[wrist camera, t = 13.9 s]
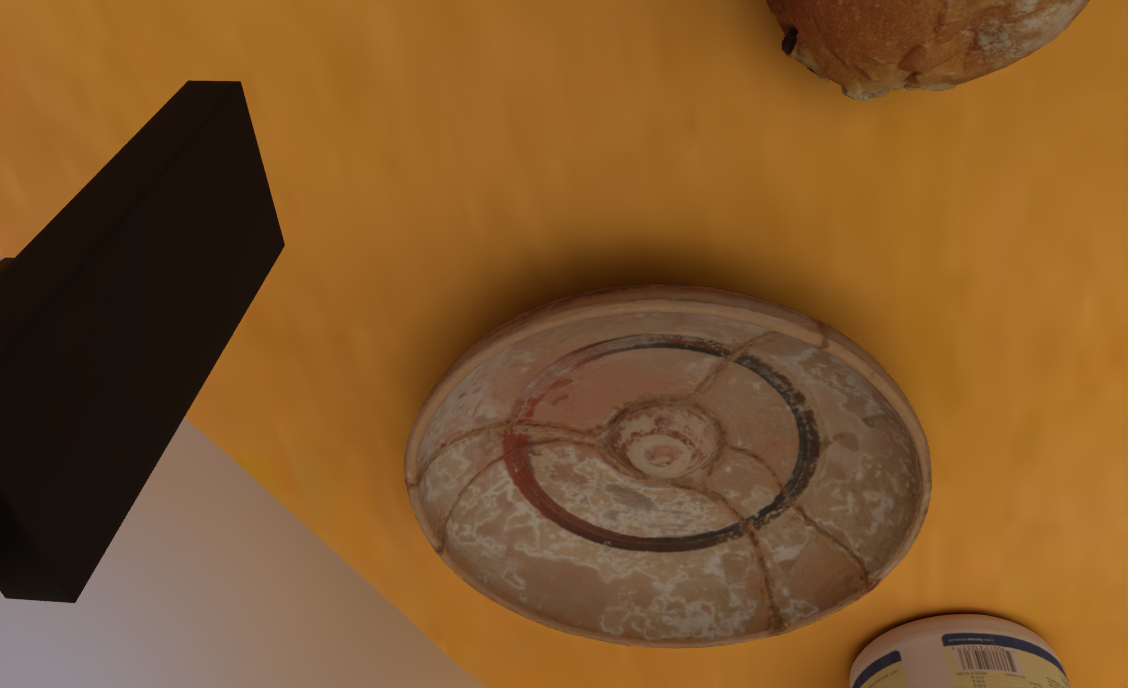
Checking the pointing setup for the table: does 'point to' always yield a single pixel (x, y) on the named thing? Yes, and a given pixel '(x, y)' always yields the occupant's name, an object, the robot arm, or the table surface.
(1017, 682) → the supplement tub
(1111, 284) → the table surface
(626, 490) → the ceramic bowl
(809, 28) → the bread roll
